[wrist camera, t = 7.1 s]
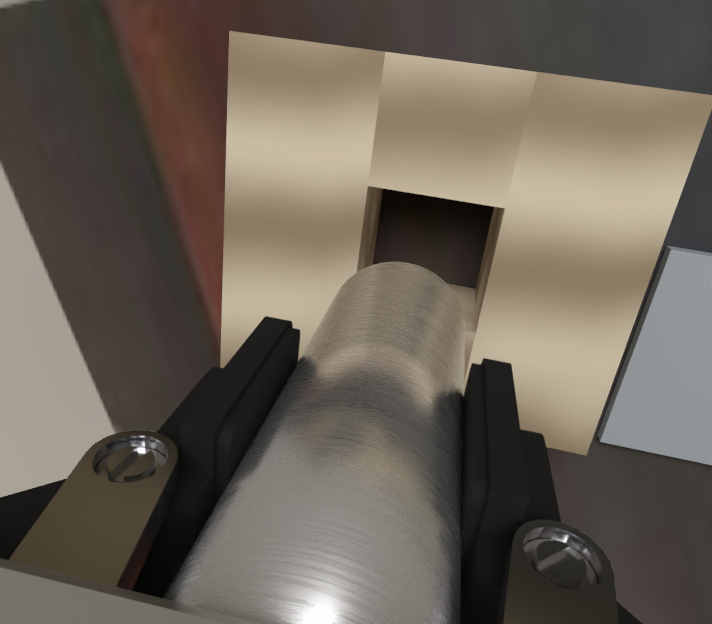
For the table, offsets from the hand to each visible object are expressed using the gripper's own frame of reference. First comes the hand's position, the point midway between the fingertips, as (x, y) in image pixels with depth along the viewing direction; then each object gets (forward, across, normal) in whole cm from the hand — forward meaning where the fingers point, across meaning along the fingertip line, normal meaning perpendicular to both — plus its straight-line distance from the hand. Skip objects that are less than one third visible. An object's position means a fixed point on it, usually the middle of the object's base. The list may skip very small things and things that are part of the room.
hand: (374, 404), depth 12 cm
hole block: (+16, 0, 0) cm, 16 cm away
